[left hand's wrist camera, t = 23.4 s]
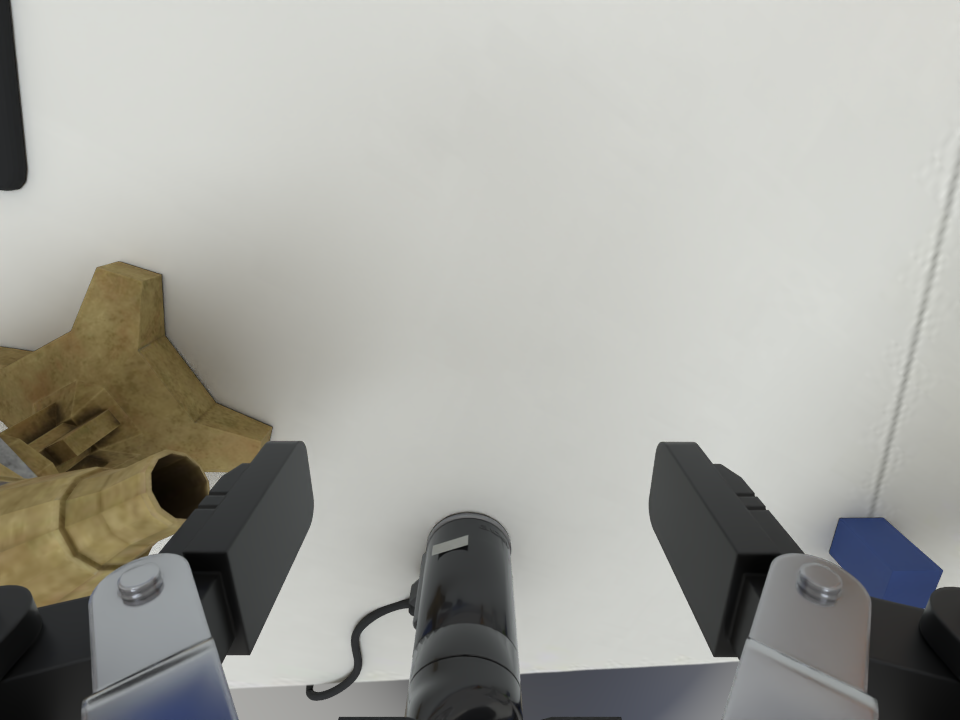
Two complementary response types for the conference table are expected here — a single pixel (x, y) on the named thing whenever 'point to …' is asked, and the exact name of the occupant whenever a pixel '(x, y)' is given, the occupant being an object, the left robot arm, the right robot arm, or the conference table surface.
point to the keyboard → (9, 110)
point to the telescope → (105, 441)
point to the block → (884, 561)
